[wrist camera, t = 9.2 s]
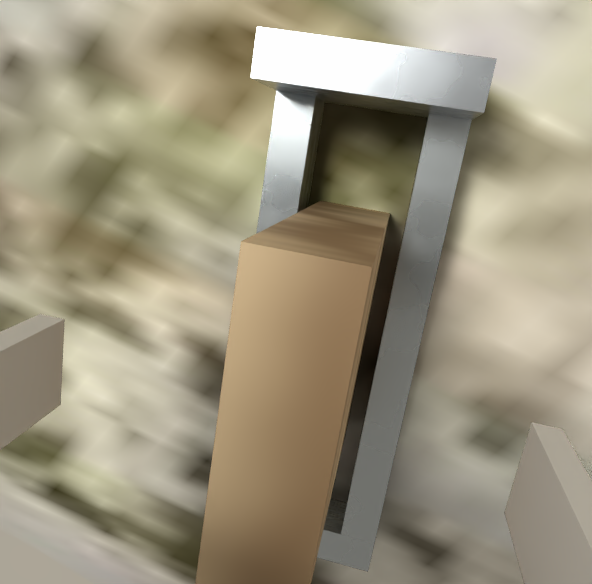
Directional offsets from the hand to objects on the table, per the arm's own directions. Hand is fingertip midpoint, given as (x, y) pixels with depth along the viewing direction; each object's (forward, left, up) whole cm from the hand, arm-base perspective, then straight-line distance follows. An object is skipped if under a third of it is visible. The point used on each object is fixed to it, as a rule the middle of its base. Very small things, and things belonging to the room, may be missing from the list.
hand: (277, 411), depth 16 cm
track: (0, 0, -10) cm, 10 cm away
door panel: (0, 0, -10) cm, 10 cm away
